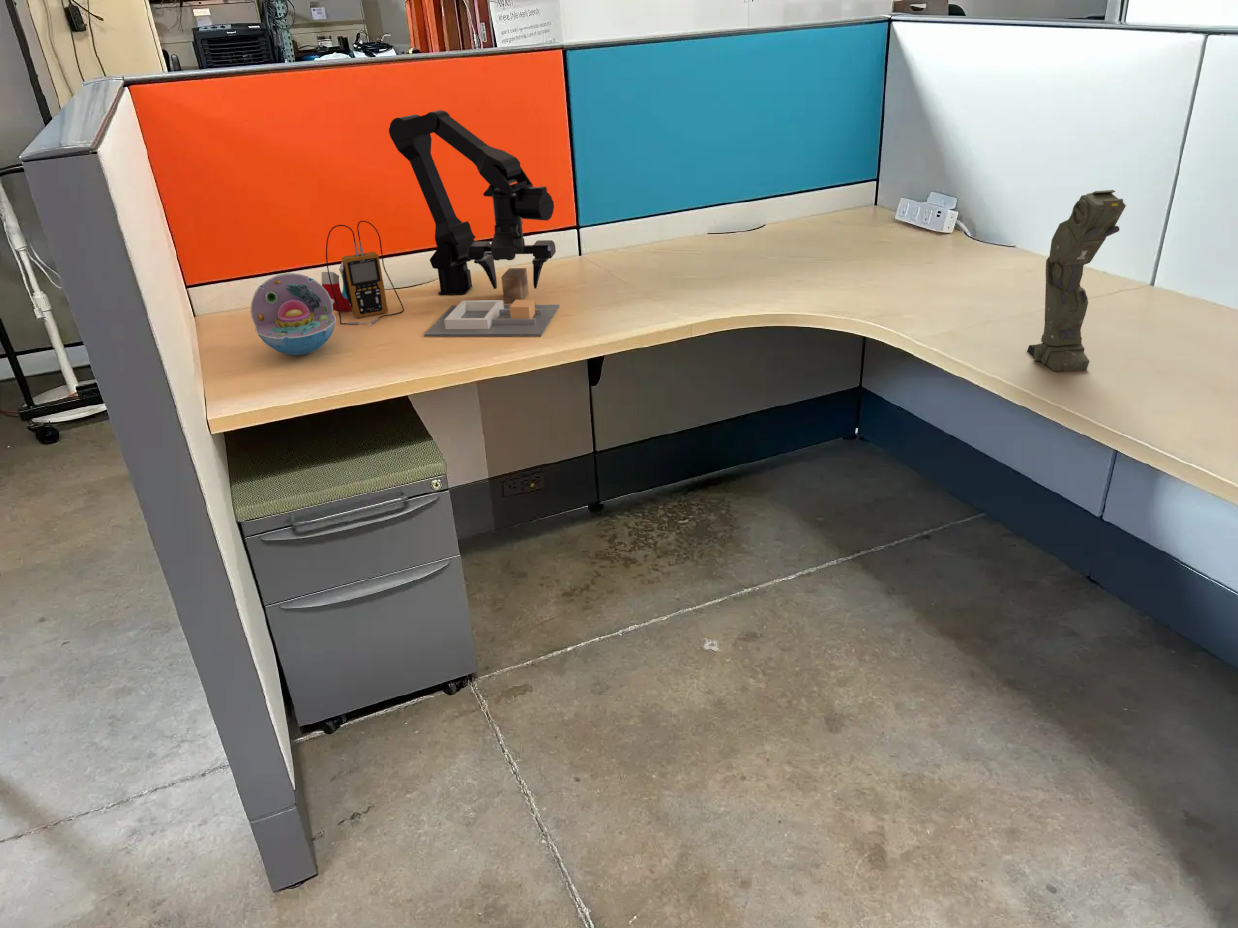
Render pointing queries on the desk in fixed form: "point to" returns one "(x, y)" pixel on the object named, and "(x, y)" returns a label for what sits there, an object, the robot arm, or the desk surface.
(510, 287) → the block
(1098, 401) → the desk surface
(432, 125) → the robot arm
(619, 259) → the desk surface
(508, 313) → the grey base board
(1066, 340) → the mechanical leg
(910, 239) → the desk surface
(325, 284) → the magnet
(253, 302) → the educational model
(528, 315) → the block
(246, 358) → the desk surface
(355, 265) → the multimeter
